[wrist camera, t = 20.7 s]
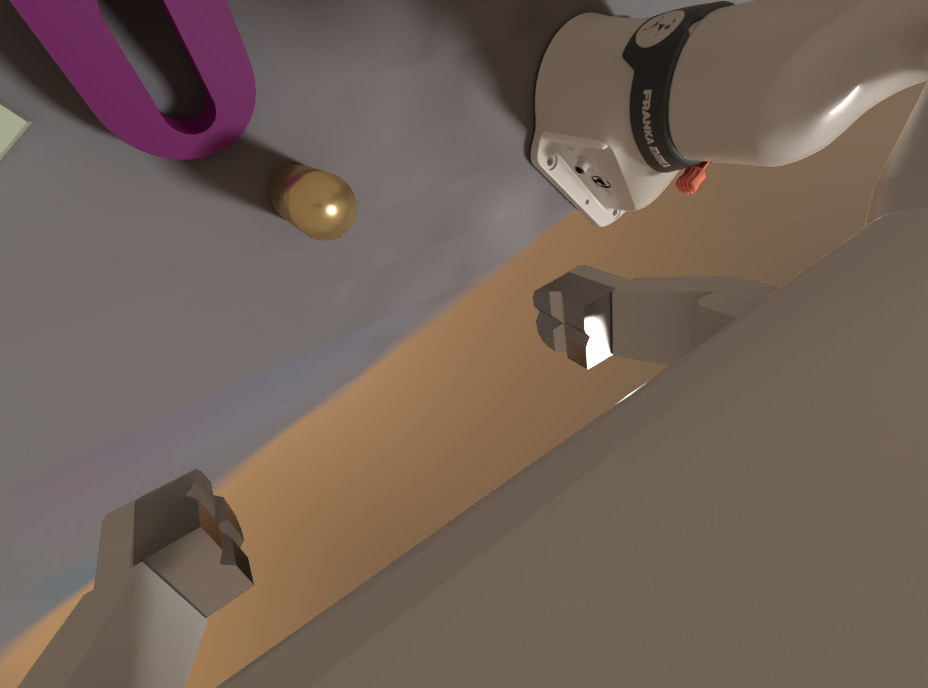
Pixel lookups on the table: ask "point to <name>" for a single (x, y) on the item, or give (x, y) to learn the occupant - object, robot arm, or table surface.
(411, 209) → the table surface
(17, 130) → the parts tray
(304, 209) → the gold metallic cylinder
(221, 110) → the mounting bracket
